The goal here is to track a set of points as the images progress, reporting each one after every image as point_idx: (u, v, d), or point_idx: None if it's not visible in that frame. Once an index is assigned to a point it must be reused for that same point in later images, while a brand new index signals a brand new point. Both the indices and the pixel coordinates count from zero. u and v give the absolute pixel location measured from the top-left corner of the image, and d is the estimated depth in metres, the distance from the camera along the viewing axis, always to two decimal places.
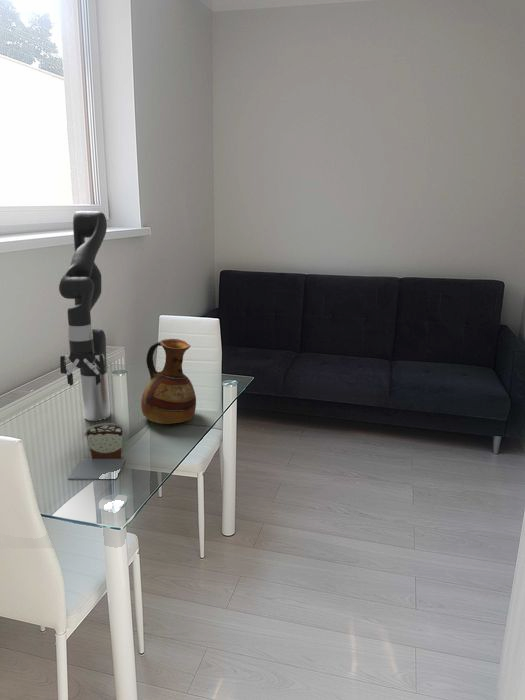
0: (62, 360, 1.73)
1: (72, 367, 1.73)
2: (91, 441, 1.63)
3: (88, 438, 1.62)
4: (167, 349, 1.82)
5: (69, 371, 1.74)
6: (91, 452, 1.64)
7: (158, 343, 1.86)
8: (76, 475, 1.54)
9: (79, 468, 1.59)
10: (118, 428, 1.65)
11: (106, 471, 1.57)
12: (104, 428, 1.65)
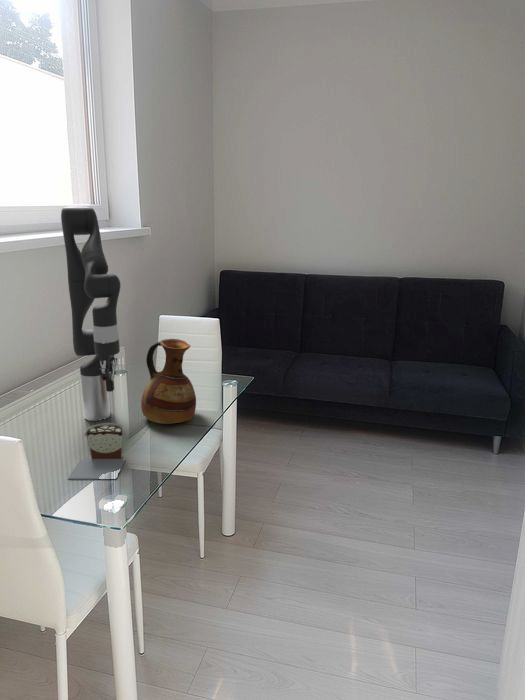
0: (108, 371, 1.62)
1: (113, 370, 1.66)
2: (91, 441, 1.63)
3: (88, 438, 1.62)
4: (167, 349, 1.82)
5: (112, 376, 1.66)
6: (91, 452, 1.64)
7: (158, 343, 1.86)
8: (76, 475, 1.54)
9: (79, 468, 1.59)
10: (118, 428, 1.65)
11: (106, 471, 1.57)
12: (104, 428, 1.65)
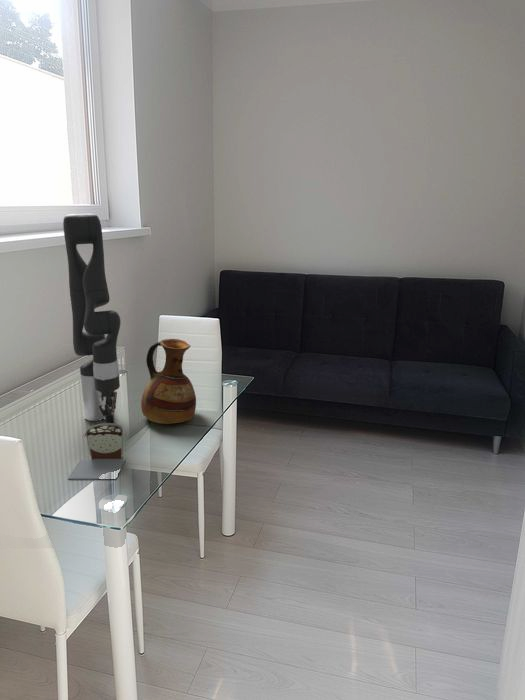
0: (108, 407, 1.61)
1: (113, 405, 1.65)
2: (91, 441, 1.62)
3: (87, 439, 1.62)
4: (167, 349, 1.82)
5: (112, 411, 1.66)
6: (91, 452, 1.64)
7: (158, 343, 1.86)
8: (76, 475, 1.54)
9: (79, 468, 1.59)
10: (118, 428, 1.65)
11: (106, 471, 1.57)
12: (104, 428, 1.65)
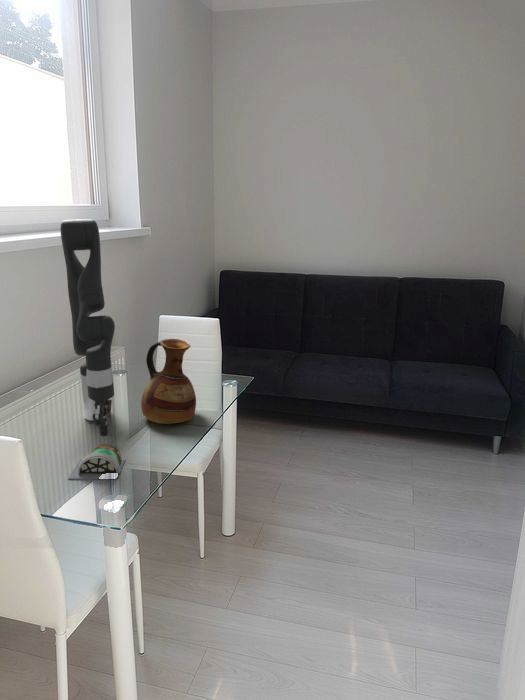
0: (102, 417, 1.55)
1: (107, 414, 1.59)
2: None
3: None
4: (167, 349, 1.82)
5: (106, 420, 1.59)
6: None
7: (158, 343, 1.86)
8: (76, 475, 1.54)
9: None
10: (110, 463, 1.55)
11: None
12: (95, 463, 1.55)
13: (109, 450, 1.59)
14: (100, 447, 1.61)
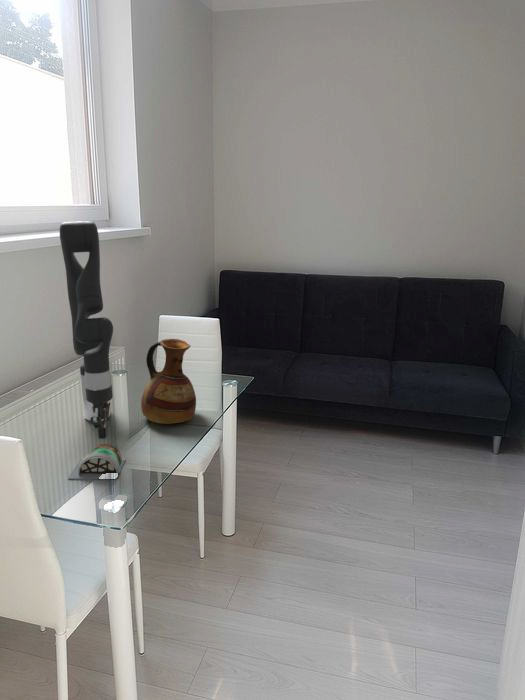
0: (100, 419, 1.53)
1: (105, 417, 1.57)
2: None
3: None
4: (167, 349, 1.82)
5: (104, 423, 1.58)
6: None
7: (158, 343, 1.86)
8: (76, 475, 1.54)
9: None
10: (110, 463, 1.55)
11: None
12: (95, 463, 1.55)
13: (109, 450, 1.59)
14: (100, 447, 1.61)
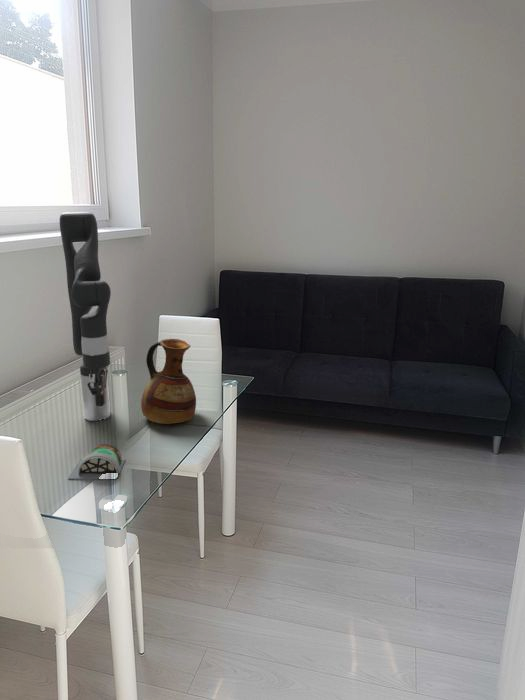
0: (97, 385, 1.50)
1: (103, 384, 1.54)
2: None
3: None
4: (167, 349, 1.82)
5: (102, 390, 1.55)
6: None
7: (158, 343, 1.86)
8: (76, 475, 1.54)
9: None
10: (110, 463, 1.55)
11: None
12: (95, 463, 1.55)
13: (109, 450, 1.59)
14: (100, 447, 1.61)
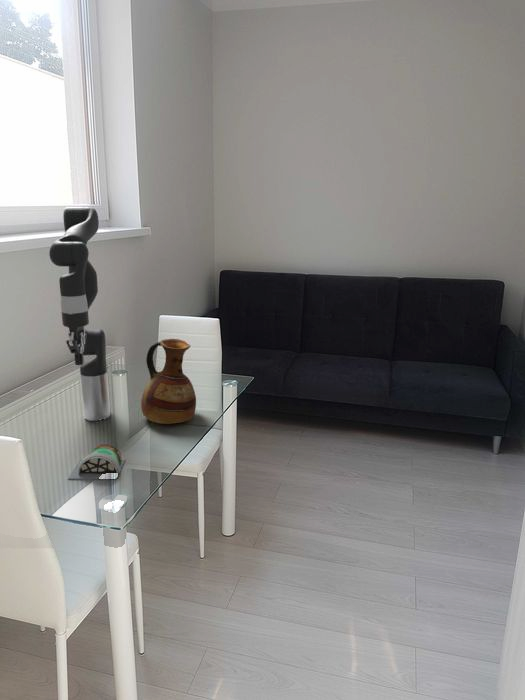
0: (76, 343, 1.56)
1: (82, 343, 1.60)
2: None
3: None
4: (167, 349, 1.82)
5: (81, 349, 1.60)
6: None
7: (158, 343, 1.86)
8: (76, 475, 1.54)
9: None
10: (110, 463, 1.55)
11: None
12: (95, 463, 1.55)
13: (109, 450, 1.59)
14: (100, 447, 1.61)
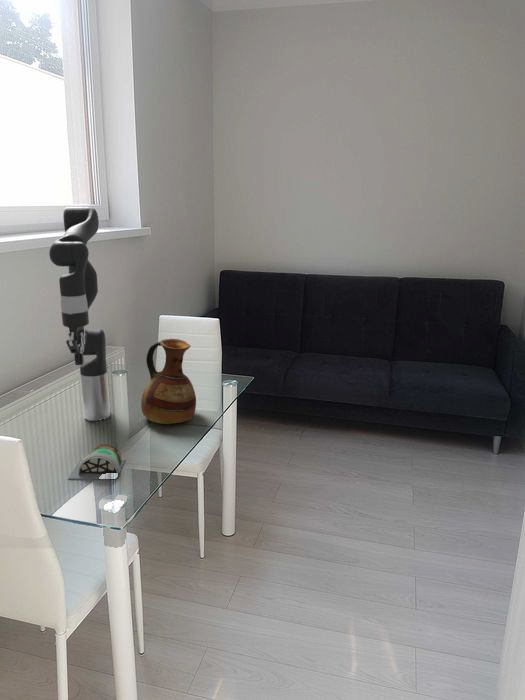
0: (76, 343, 1.56)
1: (82, 343, 1.60)
2: None
3: None
4: (167, 349, 1.82)
5: (81, 349, 1.60)
6: None
7: (158, 343, 1.86)
8: (76, 475, 1.54)
9: None
10: (110, 463, 1.55)
11: None
12: (95, 463, 1.55)
13: (109, 450, 1.59)
14: (100, 447, 1.61)
